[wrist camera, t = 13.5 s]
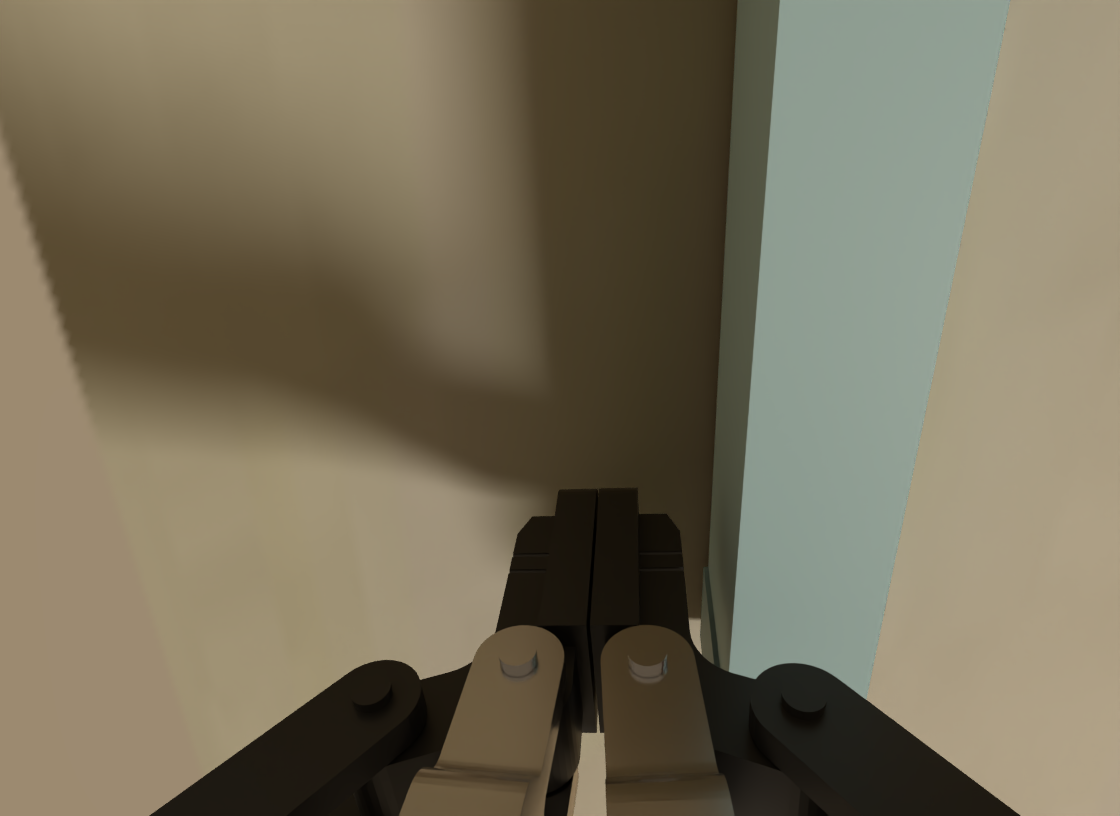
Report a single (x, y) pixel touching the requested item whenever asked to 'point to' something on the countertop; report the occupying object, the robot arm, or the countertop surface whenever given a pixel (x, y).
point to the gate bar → (834, 310)
